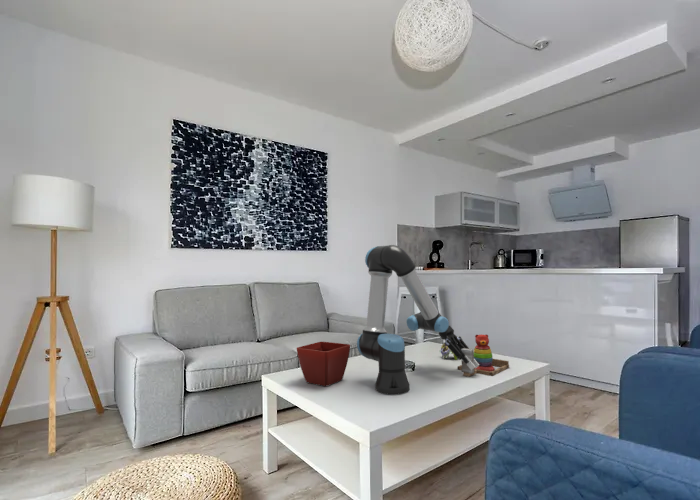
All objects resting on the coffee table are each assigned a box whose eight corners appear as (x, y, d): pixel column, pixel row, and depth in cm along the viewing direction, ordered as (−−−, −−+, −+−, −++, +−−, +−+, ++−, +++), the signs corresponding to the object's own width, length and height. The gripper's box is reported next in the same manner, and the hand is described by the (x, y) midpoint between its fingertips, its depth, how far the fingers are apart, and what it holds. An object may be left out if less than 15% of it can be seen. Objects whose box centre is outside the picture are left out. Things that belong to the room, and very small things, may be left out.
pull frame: (484, 379, 174) (483, 352, 175) (449, 372, 187) (448, 347, 188) (509, 367, 194) (508, 343, 195) (475, 362, 207) (474, 339, 208)
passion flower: (445, 368, 217) (434, 349, 223) (458, 362, 222) (447, 344, 228) (454, 361, 208) (442, 341, 214) (468, 354, 213) (456, 336, 219)
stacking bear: (472, 371, 190) (471, 335, 191) (472, 366, 200) (470, 332, 201) (495, 372, 187) (493, 336, 188) (493, 367, 197) (492, 333, 198)
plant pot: (321, 373, 192) (321, 340, 193) (352, 379, 181) (351, 344, 182) (296, 383, 177) (295, 347, 178) (327, 390, 166) (326, 351, 167)
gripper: (447, 332, 200) (478, 368, 187) (430, 336, 188) (462, 375, 176) (456, 322, 196) (488, 359, 184) (439, 326, 185) (472, 366, 172)
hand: (475, 367), depth 180 cm, fingers open, 3 cm apart
